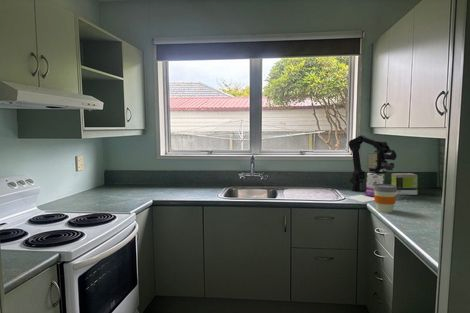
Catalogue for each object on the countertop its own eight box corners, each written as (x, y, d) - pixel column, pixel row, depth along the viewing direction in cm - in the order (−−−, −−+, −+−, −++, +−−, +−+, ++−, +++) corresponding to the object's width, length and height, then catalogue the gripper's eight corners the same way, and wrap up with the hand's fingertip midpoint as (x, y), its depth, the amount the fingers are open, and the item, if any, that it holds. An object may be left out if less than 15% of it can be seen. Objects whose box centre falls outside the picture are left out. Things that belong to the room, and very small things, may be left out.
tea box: (411, 192, 249) (412, 172, 247) (417, 195, 239) (418, 174, 237) (390, 192, 250) (391, 172, 249) (395, 195, 240) (396, 174, 239)
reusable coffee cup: (376, 207, 205) (377, 183, 204) (398, 210, 197) (399, 185, 196) (370, 211, 195) (370, 186, 194) (393, 214, 188) (394, 188, 186)
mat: (360, 195, 239) (360, 194, 239) (379, 199, 225) (379, 199, 225) (344, 198, 231) (344, 197, 231) (363, 202, 217) (363, 201, 217)
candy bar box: (382, 196, 233) (385, 173, 231) (382, 198, 229) (384, 175, 226) (366, 194, 239) (367, 172, 236) (365, 196, 234) (367, 173, 232)
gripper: (382, 160, 223) (382, 183, 224) (399, 159, 232) (399, 181, 234) (368, 159, 233) (368, 181, 234) (385, 158, 242) (385, 179, 243)
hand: (380, 180), depth 236 cm, fingers closed
